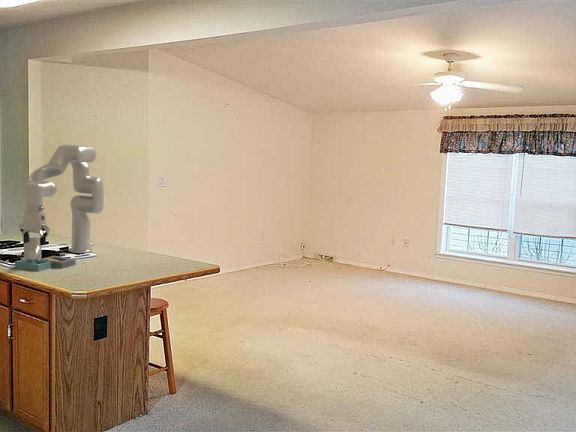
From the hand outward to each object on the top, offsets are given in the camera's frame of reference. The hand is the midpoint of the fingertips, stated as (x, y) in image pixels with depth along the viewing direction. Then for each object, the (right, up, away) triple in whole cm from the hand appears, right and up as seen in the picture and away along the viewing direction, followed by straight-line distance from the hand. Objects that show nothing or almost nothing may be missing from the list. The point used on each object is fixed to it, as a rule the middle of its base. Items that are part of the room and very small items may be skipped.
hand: (34, 243), depth 265 cm
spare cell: (-5, -10, +11) cm, 16 cm away
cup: (-10, -9, +19) cm, 23 cm away
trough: (-1, -12, +1) cm, 12 cm away
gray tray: (+7, -11, +10) cm, 16 cm away
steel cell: (-1, -11, +1) cm, 11 cm away
